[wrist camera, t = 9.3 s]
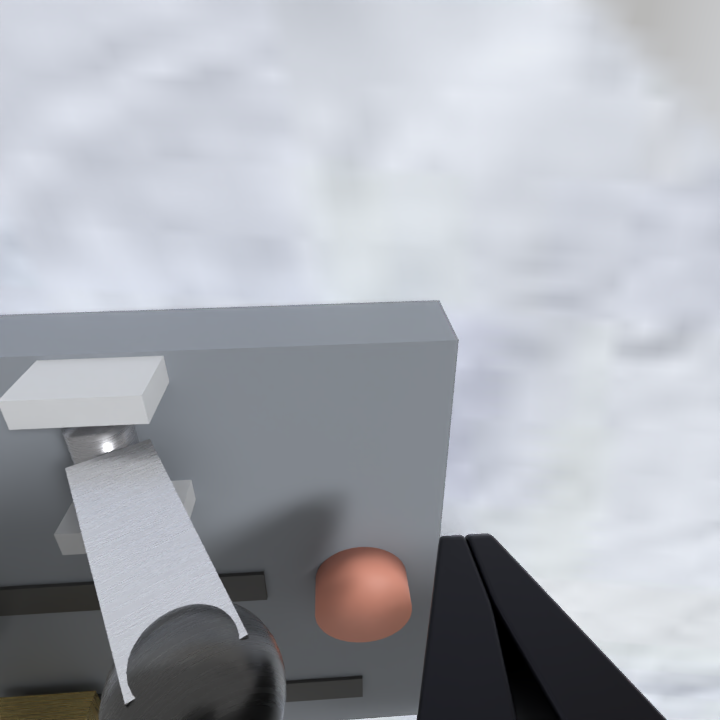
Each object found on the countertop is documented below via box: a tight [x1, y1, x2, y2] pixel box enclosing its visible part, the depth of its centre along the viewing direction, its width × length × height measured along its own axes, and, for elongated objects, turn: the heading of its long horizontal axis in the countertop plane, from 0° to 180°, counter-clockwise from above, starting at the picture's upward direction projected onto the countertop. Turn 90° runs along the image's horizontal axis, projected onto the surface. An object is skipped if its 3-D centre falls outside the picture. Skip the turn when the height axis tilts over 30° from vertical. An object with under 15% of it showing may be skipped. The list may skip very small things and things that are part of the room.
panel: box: [0, 301, 459, 720], centre depth 14 cm, size 14×14×3 cm
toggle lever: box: [62, 424, 286, 720], centre depth 8 cm, size 2×2×7 cm
